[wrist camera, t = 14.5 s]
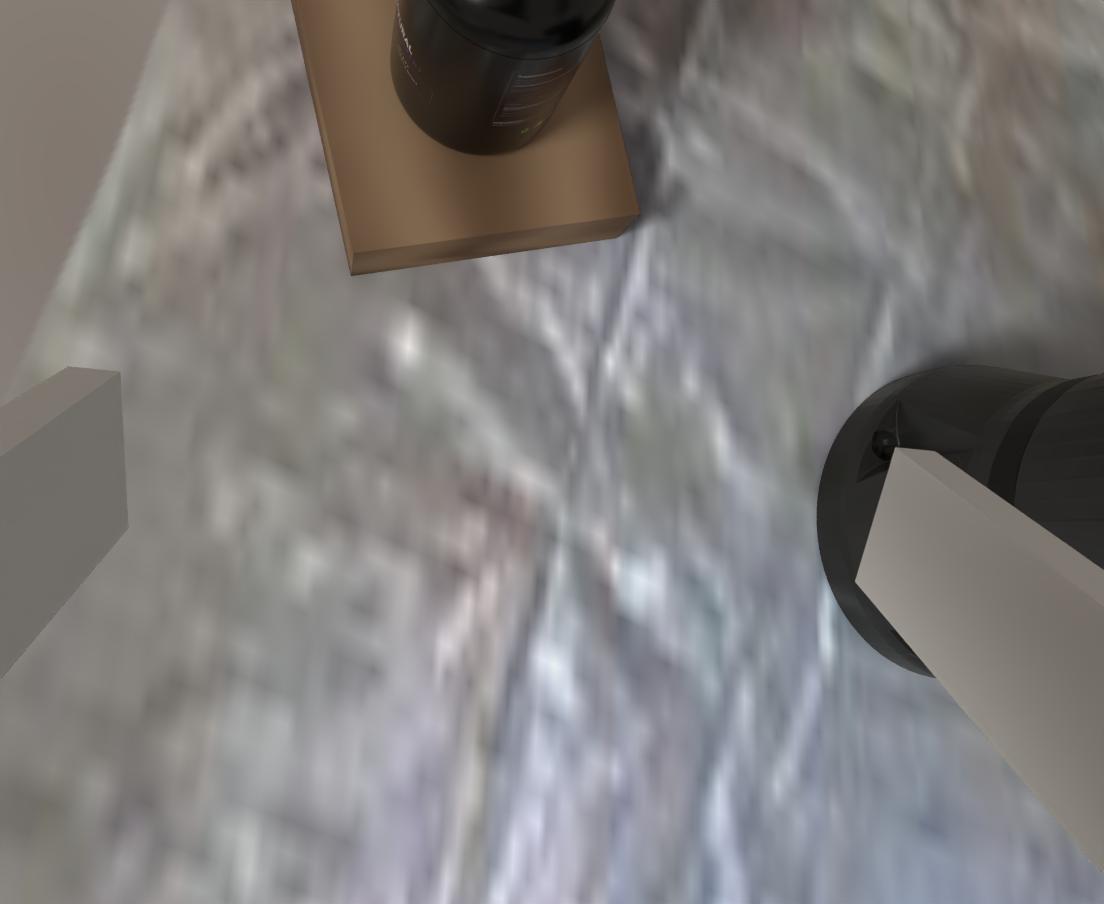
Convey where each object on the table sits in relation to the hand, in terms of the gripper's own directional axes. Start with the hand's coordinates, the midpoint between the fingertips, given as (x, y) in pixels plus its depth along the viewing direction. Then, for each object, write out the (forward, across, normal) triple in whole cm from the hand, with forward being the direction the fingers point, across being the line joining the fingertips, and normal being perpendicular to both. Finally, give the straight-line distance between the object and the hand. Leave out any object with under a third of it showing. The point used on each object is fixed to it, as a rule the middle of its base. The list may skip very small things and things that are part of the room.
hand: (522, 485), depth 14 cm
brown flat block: (+26, -2, +6) cm, 27 cm away
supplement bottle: (+24, -1, +7) cm, 25 cm away
